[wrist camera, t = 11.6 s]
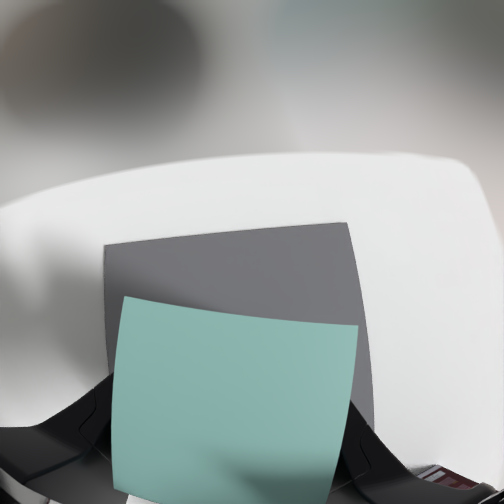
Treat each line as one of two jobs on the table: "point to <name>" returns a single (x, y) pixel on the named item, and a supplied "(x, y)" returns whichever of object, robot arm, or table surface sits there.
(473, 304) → the table surface
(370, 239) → the table surface
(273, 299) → the charcoal mat
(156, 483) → the teal block
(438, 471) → the supplement box
